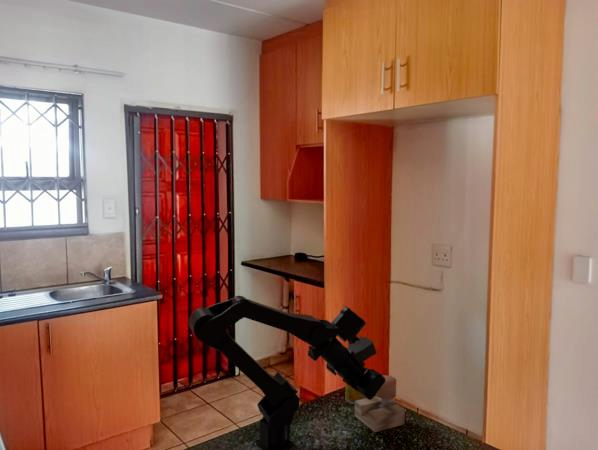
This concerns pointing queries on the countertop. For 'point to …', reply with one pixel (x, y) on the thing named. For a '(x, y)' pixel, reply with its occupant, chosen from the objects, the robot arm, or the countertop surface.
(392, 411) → the knob track
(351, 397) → the supplement bottle
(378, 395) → the knob
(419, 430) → the countertop surface
